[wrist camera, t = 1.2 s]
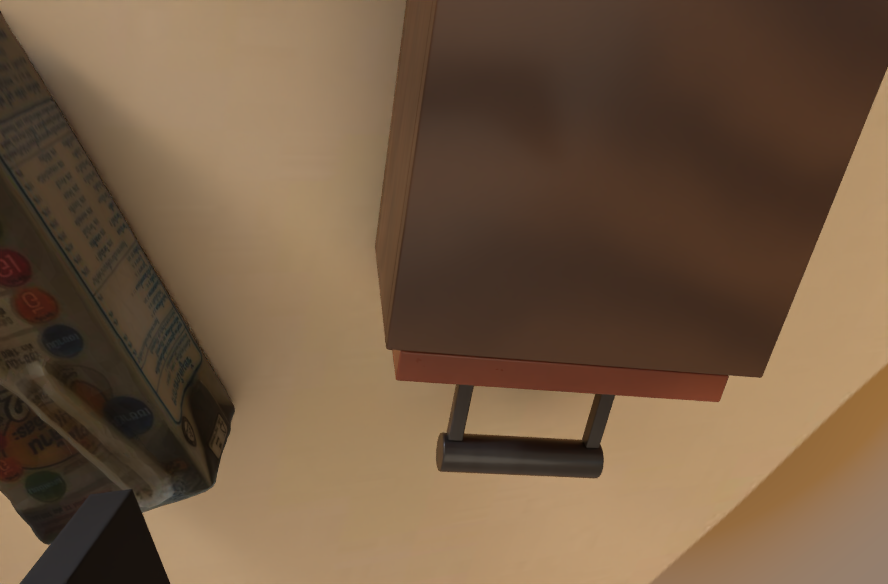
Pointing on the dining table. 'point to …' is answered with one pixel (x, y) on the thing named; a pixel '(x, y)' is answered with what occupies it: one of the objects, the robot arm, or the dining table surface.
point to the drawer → (540, 375)
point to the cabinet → (616, 174)
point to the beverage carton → (87, 333)
